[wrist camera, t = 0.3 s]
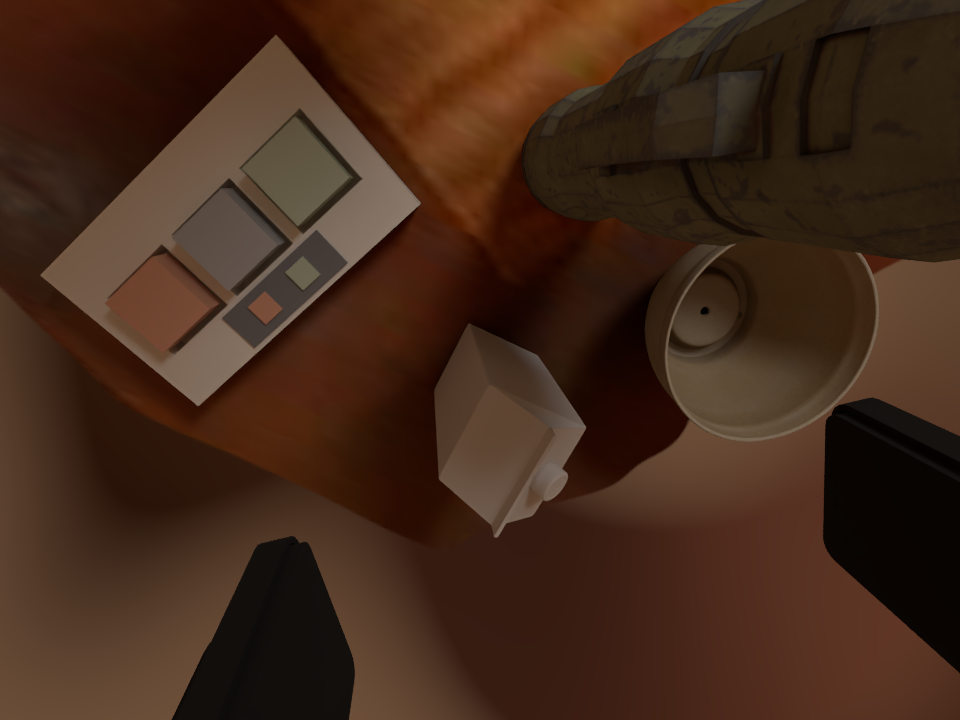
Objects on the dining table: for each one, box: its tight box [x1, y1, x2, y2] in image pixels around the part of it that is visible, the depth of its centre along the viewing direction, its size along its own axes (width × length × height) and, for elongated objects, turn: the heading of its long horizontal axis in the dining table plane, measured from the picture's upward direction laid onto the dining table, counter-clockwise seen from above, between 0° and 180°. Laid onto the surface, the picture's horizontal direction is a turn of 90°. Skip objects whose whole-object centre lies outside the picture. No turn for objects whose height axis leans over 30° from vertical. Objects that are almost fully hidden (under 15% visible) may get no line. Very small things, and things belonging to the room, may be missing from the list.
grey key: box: [172, 188, 286, 291], centre depth 37 cm, size 5×5×2 cm
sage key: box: [242, 117, 354, 226], centre depth 36 cm, size 5×5×2 cm
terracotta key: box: [104, 252, 222, 353], centre depth 38 cm, size 5×5×2 cm
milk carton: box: [434, 324, 586, 537], centre depth 38 cm, size 7×7×19 cm
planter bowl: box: [645, 237, 879, 441], centre depth 42 cm, size 16×16×11 cm
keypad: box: [40, 35, 420, 406], centre depth 39 cm, size 14×24×4 cm, turn 130°
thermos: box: [522, 0, 960, 262], centre depth 25 cm, size 9×12×35 cm
